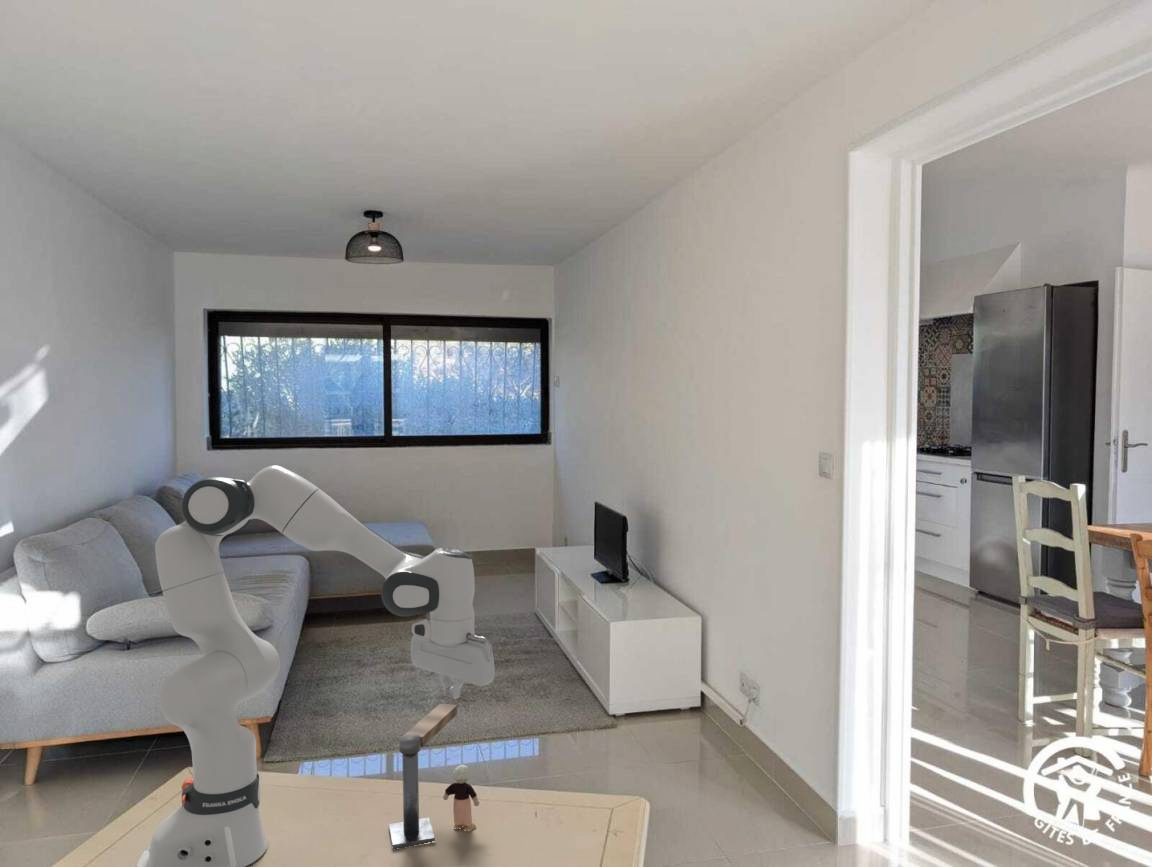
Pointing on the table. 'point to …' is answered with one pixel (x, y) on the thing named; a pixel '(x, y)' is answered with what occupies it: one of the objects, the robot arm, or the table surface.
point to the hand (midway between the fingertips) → (451, 697)
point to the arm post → (411, 810)
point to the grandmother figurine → (462, 798)
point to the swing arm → (427, 728)
